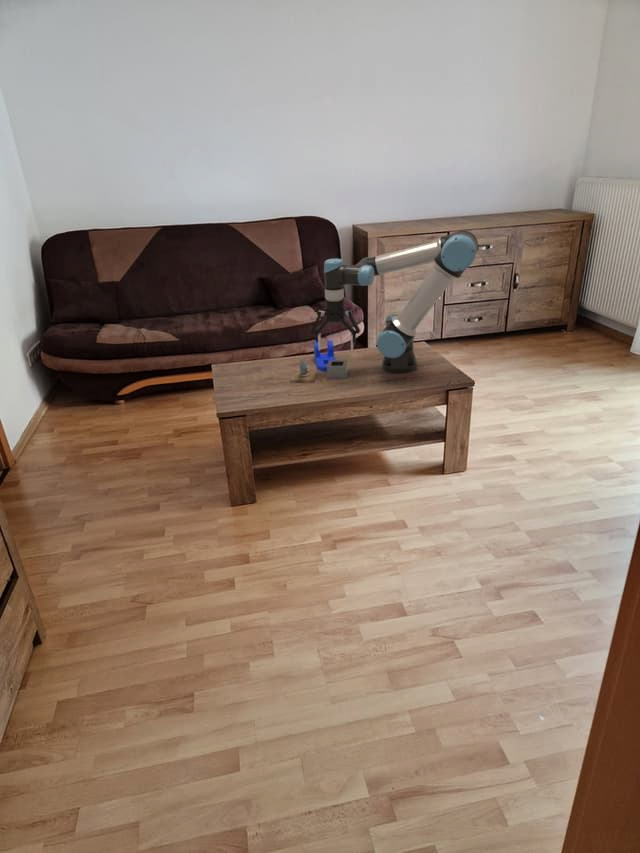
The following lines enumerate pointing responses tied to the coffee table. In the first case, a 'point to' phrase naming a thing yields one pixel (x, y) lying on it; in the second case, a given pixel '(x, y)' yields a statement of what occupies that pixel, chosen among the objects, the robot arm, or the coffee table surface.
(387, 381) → the coffee table surface
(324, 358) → the bracket
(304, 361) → the peg stand
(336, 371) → the gray square frame
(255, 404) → the coffee table surface
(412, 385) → the coffee table surface
